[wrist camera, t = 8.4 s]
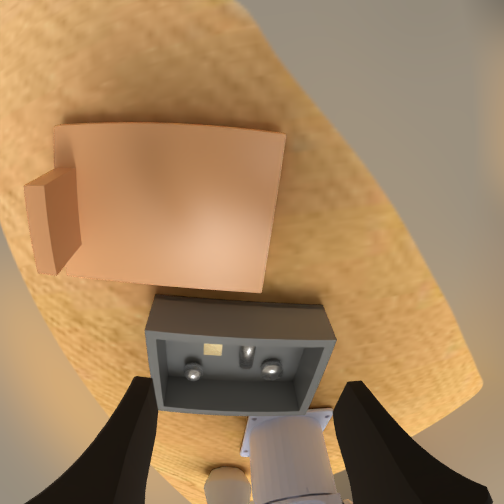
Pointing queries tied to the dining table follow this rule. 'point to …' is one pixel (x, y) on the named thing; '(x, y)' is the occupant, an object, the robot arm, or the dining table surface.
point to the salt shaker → (227, 486)
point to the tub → (236, 355)
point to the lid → (158, 204)
